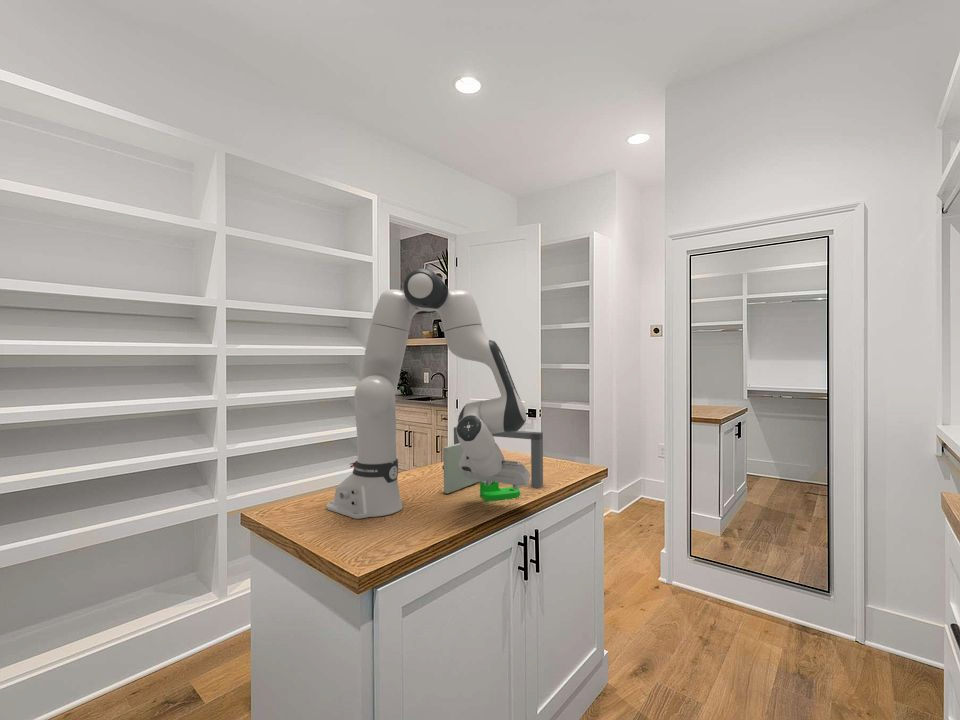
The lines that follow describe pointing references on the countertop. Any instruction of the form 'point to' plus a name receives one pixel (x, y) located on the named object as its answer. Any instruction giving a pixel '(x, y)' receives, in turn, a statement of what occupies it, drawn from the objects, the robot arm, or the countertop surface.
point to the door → (454, 469)
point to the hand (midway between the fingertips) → (502, 485)
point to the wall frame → (535, 452)
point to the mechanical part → (497, 492)
